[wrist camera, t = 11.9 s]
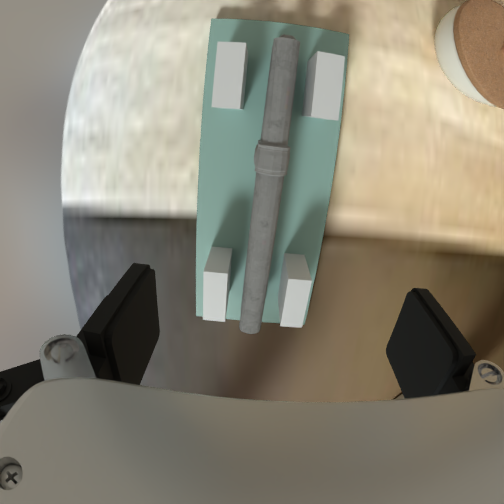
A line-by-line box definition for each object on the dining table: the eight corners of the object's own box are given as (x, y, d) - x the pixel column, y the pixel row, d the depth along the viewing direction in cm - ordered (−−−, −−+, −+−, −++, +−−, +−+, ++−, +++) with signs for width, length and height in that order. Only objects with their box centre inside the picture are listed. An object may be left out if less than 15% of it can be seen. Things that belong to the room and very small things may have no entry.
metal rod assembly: (263, 306, 33) (264, 337, 29) (237, 304, 33) (234, 334, 28) (299, 47, 22) (308, 34, 18) (267, 43, 22) (269, 28, 18)
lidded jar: (401, 17, 21) (449, -8, 13) (472, 11, 19) (524, -4, 11) (438, 114, 25) (495, 122, 17) (502, 97, 23) (558, 104, 15)
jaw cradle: (344, 37, 23) (367, 20, 17) (303, 316, 35) (310, 355, 29) (213, 23, 22) (201, 0, 17) (198, 308, 35) (188, 345, 29)
